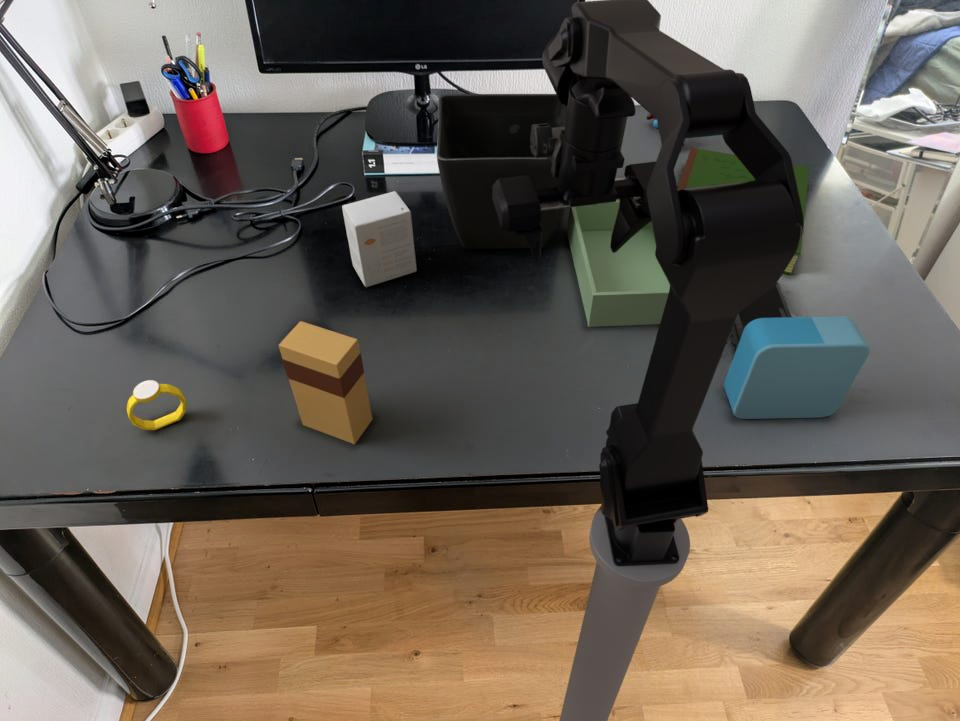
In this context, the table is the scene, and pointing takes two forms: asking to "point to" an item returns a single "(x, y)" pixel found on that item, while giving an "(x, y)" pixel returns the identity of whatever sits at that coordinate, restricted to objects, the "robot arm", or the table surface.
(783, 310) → the phone
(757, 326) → the blue rounded flat block
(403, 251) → the small box
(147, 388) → the watch
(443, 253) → the table surface
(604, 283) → the green open tray
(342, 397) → the chocolate carton
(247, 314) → the table surface
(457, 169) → the flower pot
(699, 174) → the hardcover book
